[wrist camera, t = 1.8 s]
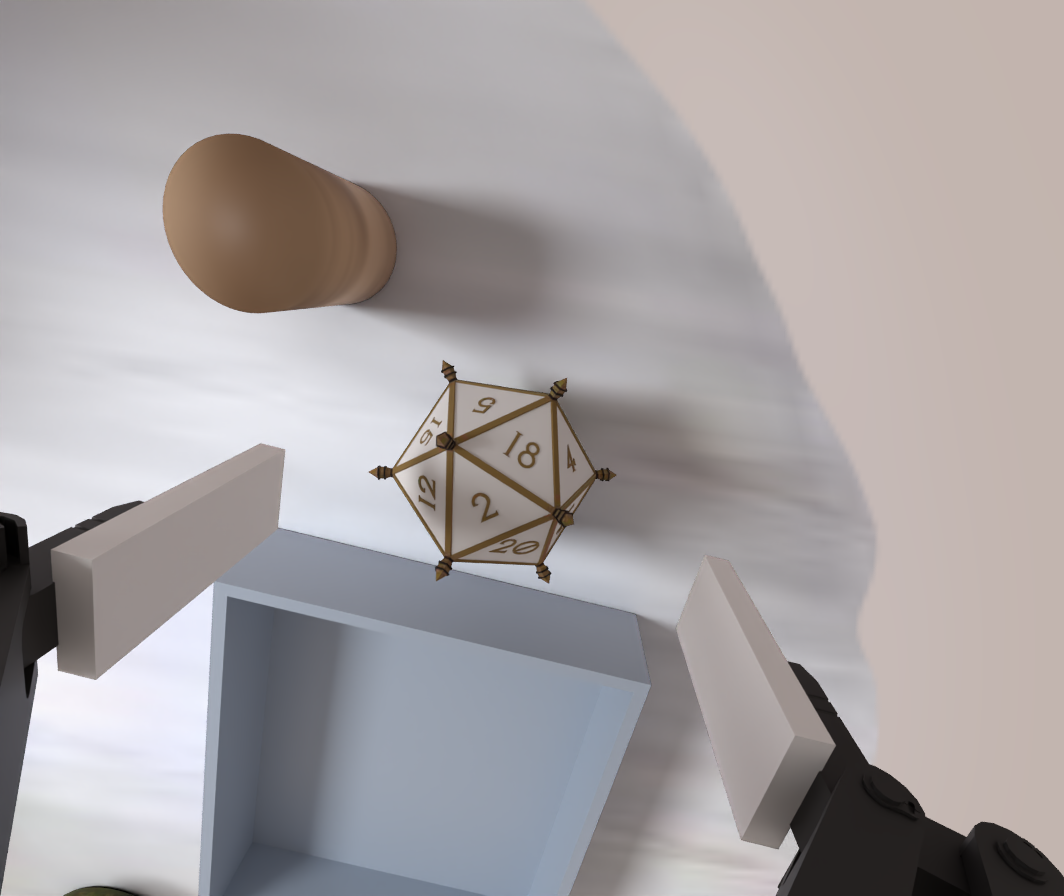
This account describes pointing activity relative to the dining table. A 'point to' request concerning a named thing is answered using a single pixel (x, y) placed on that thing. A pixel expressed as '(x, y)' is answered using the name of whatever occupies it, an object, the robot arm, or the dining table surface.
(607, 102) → the dining table surface
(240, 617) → the tote
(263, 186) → the walnut cylinder
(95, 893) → the mug
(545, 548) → the game die
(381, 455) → the dining table surface
